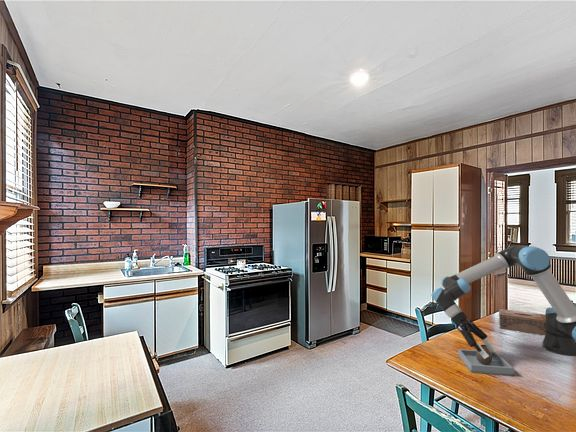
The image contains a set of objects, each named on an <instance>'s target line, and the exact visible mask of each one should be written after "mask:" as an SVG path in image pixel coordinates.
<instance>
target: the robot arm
mask: <svg viewBox="0 0 576 432" xmlns="http://www.w3.org/2000/svg"><path fill="white" fill-rule="evenodd" d="M550 261H551V260H550V255H549V254H548V253H547V252H546V250H544V249H542V248H540V247H536V246H532V245H531V246H529V245H524V244H523V245H522V244H517V245H512V246H509V247H506V248H505V249H503V250H500V251H499V252H496V253H495V255H494V256H492V257H490V258H487V259H486V260H483V261H481V262H479V263H477V264H475V265H473V266H471V267H469V268H467V269H464V270H461V271H460V272H457V273H456V274H453V275H451V276H444V277H443V278H442V279H441V282H440V283H441V286H442V287H443V288H444V289H443V288H442V287H438V288H436V289H435V290H433V292H431V298H432V299H433V300H434V302H435V304H437V305H438V307H439V308H440V309H442V311H443V312H444V313H445V315H446V316H447V317H448V318H450V319H451V320H450V321H452V323H453V324H454V325H458V327H456V328H457V330H458V331H459V332H460V333H461V335H462V336H463V338H464V340H465V341H466V342H467V344H468V345H469V347H471V348H474V349H475V350H477V351H478V352H479V353H480V354H481V356H482V357H483V358H484V359H485V358H487V357H489V355H488V354H487V353H486V352H485V350H484V349H483V348H482V347H481V344H480V343H477V340H476V339H475V337H474V336H473V334H474V335H475V336H476V337H478V338H479V339H481V342H482V344H483V345H486V346H487V348H488V349H489V350H490V351H491V352H492V353H493V352H496V351H497V350H498V349H497V348H496V347H495V346H494V344H492V342H490V341H489V340H488V335H487V334H486V333H485V332H484V331H483V330H482V329H481V328H480V327H478V325H477V324H475V323H474V322H473V320H471V319H469V320H468V319H467V318H468V316H467V315H466V313H465V312H464V311H462V309H461V307H459V305H458V304H457V303H456V302H455V301H457V299H460V298H461V297H463V296H464V295H465V294H467V293H468V292H470V291H471V290H472V287H471V285H470V284H471V283H473V282H474V281H477V280H479V279H480V280H481V279H482V278H483V277H486V276H488V275H491V274H492V273H494V272H497V271H500V270H502V269H509V268H511V267H514V266H516V267H517V266H519V267H520V268H521V269H522V271H523V272H524V274H525V275H526V276H529V277H531V278H532V280H533V282H534V283H535V284H536V286H537V287H538V289H539V291H540V292H541V293H542V294H543V295H544V298H545V299H546V300H547V302H548V304H549V305H550V306H551V307H547V308H545V313H544V315H546V335H545V336H544V338H543V341H542V348H544V349H545V350H547V351H548V352H551V353H554V354H555V353H556V354H559V355H563V356H570V357H571V356H572V357H573V356H574V357H575V356H576V306H575V305H574V303H573V302H572V300H571V299H570V297H569V296H568V295H567V293H566V292H565V290H564V289H563V287H562V286H561V284H560V283H559V281H558V280H557V278H556V277H555V275H553V273H552V271H551V268H552V264H551V263H550Z"/></svg>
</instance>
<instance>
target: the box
mask: <svg viewBox="0 0 576 432" xmlns="http://www.w3.org/2000/svg"><path fill="white" fill-rule="evenodd" d="M476 351H477V350H476V349H475V350H473V349H460V348H459V349H457V356H458V357H459V359H460V360H461V361H462V362H463V364H464V365H465V366H466V368H467V369H468V370H469V371H470V373H473V374H474V373H475V374H485V375H496V376H497V375H499V376H507V377H508V376H512V377H515V368H514V367H513V366H512V365H511V364H509V363H508V362H507V361H506V360H505V359H504V358H503V357H502V356H500V354H498V353H497V352H496V351H494V352H493V353H492V352H491V351H490V352H491V354H492V362H491V363H490V364H489V365H484V364H481V363H480V362H479V361H478V360H477V358H476Z"/></svg>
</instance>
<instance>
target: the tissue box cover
mask: <svg viewBox="0 0 576 432" xmlns="http://www.w3.org/2000/svg"><path fill="white" fill-rule="evenodd" d="M498 316H499V318H498V319H499V320H498V322H499V329H500V330H506V331H513V332H517V331H519V332H518V333H524V332H525V333H526V334H530V333H531V335H537V334H538V336H543V335H546V315H545V313H544V314H543V313H535V312H526V311H519V310H511V309H505V308H504V309H503V308H498Z"/></svg>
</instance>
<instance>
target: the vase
mask: <svg viewBox="0 0 576 432" xmlns="http://www.w3.org/2000/svg"><path fill="white" fill-rule="evenodd" d="M480 346H481V347H482V348H483V349H484V350H485V352H486V353H487V354H488V355H489V357H487V358H485V359H484V358H483V357H482V356H481V354H480V353H479V352H478V351H476V358H477V360H478V361H479V362H480V363H481V364H484V365H489V364H490V363H491V362H492V354H491V352H490V350H489V349H488V348H487V346H486V345H485V344H480Z"/></svg>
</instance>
